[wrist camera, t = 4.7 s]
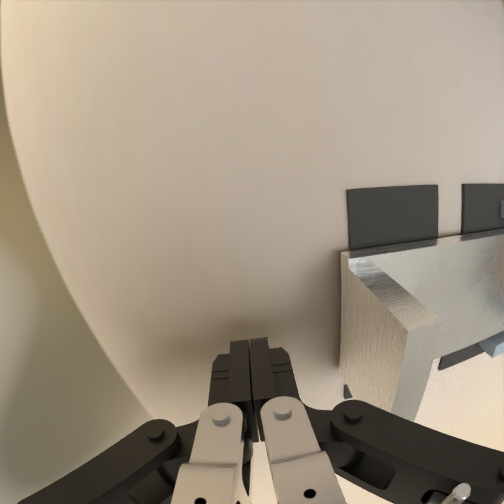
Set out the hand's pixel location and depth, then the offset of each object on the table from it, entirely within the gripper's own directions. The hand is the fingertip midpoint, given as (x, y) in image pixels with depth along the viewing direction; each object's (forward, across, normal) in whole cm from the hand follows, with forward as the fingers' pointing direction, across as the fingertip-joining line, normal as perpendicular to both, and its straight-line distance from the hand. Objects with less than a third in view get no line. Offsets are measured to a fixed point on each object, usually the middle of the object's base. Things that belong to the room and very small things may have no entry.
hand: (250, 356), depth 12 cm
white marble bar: (+2, -16, 0) cm, 17 cm away
